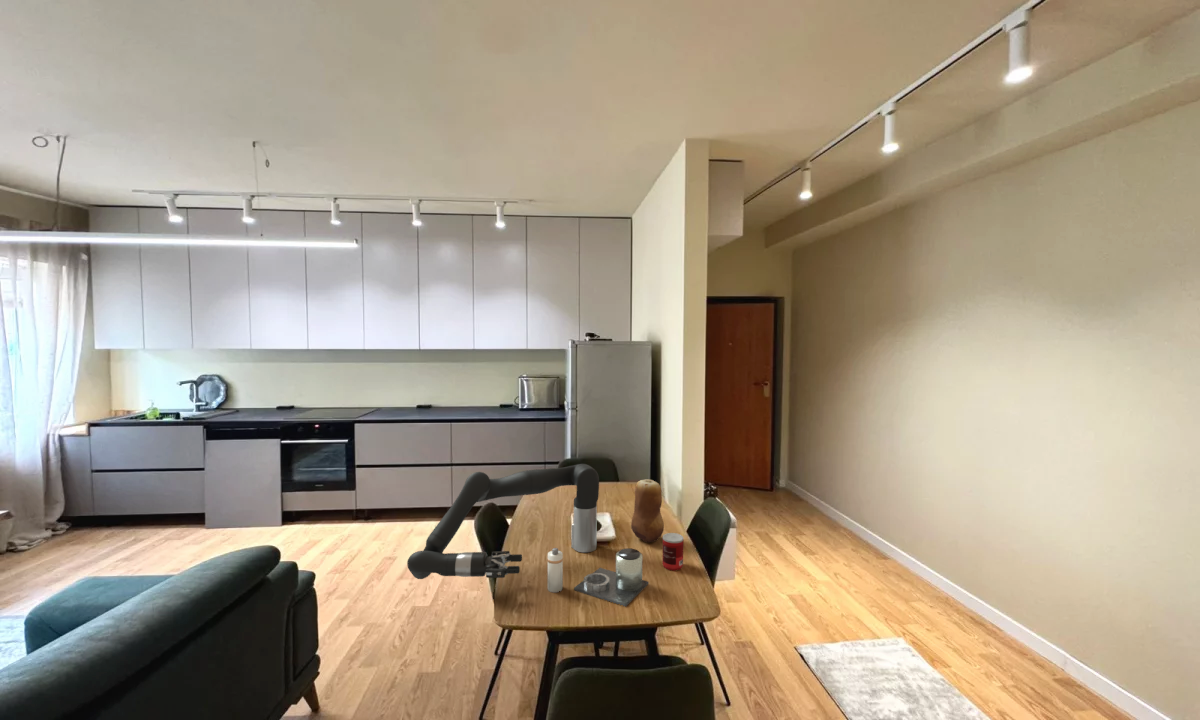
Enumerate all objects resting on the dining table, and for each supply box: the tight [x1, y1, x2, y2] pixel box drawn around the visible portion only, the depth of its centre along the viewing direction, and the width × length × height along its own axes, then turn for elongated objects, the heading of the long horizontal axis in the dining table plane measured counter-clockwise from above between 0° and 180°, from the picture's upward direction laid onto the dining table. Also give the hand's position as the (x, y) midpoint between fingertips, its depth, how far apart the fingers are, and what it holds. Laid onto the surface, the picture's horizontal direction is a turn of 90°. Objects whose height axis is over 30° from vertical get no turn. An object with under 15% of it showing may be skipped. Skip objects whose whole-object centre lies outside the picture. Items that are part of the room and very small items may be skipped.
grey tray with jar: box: [573, 548, 650, 608], centre depth 166 cm, size 20×17×12 cm
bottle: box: [546, 547, 564, 593], centre depth 165 cm, size 5×5×14 cm
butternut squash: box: [630, 478, 665, 544], centre depth 205 cm, size 14×13×25 cm
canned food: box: [662, 532, 685, 572], centre depth 182 cm, size 8×8×11 cm
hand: (520, 563), depth 164 cm, fingers open, 8 cm apart
